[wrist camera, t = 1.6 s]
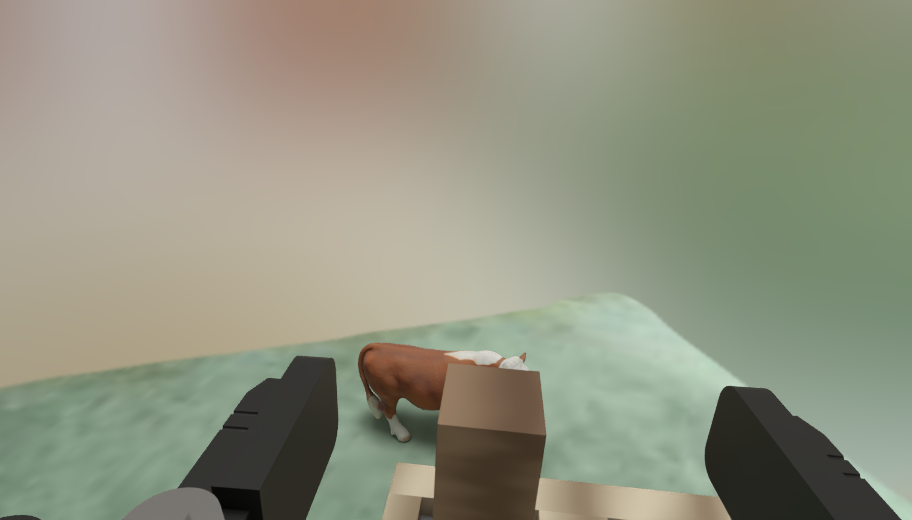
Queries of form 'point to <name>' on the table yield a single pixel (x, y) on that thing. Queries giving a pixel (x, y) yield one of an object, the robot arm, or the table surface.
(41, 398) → the table surface
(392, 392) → the bull figurine
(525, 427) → the walnut block
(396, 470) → the puzzle board
